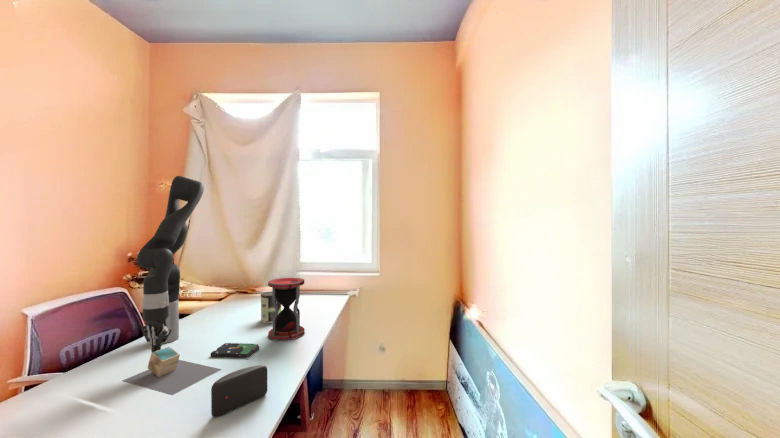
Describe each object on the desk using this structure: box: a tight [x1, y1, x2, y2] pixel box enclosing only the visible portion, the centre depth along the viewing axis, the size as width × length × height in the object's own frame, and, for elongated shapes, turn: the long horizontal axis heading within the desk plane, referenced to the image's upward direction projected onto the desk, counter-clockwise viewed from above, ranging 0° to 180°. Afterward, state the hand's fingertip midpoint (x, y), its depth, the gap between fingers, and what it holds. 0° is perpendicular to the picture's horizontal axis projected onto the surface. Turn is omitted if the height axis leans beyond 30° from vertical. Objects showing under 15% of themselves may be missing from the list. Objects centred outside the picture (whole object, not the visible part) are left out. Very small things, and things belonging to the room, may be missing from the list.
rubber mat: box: [121, 359, 222, 396], centre depth 113 cm, size 24×18×1 cm
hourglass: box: [267, 277, 306, 341], centre depth 153 cm, size 16×16×25 cm
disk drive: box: [210, 342, 260, 360], centre depth 132 cm, size 10×3×15 cm
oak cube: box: [147, 346, 181, 377], centre depth 115 cm, size 6×6×6 cm
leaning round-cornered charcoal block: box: [210, 364, 268, 418], centre depth 97 cm, size 16×5×9 cm, turn 140°
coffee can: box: [260, 291, 282, 324], centre depth 174 cm, size 10×10×14 cm
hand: (156, 354), depth 116 cm, fingers closed
